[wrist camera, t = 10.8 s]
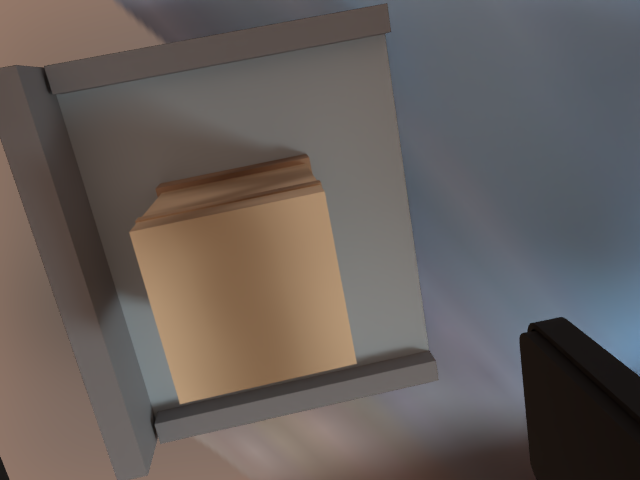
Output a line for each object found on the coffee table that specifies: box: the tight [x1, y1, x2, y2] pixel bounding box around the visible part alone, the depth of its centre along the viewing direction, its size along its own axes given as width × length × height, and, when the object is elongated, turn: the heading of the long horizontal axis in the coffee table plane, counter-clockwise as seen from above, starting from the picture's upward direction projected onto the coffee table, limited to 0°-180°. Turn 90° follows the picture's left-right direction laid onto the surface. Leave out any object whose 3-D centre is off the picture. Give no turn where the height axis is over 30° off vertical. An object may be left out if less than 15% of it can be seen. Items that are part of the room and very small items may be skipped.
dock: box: [0, 3, 438, 480], centre depth 23 cm, size 14×16×6 cm
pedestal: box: [129, 154, 357, 404], centre depth 20 cm, size 6×6×7 cm
